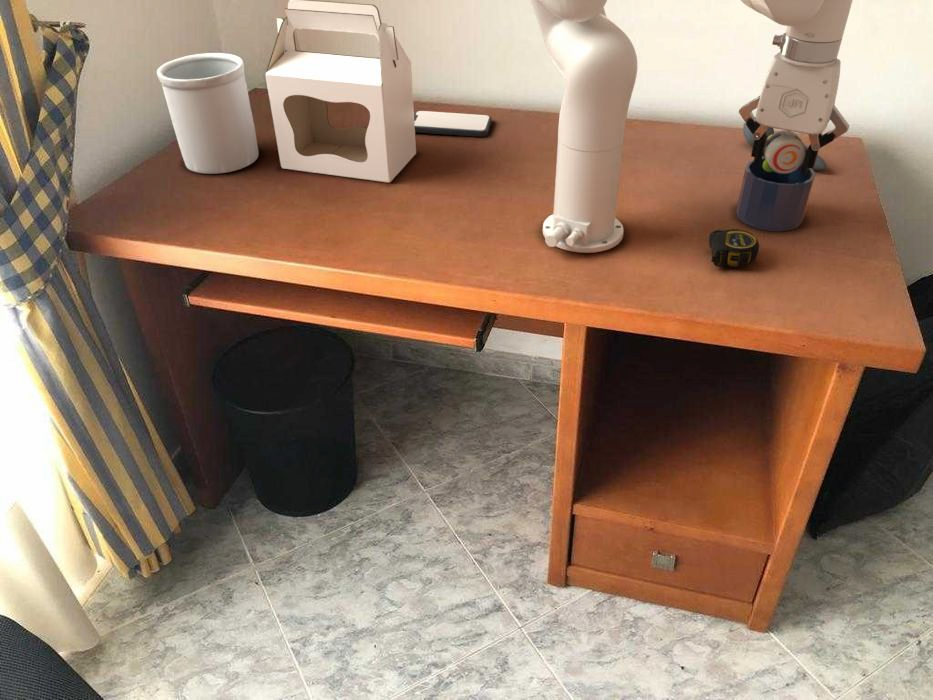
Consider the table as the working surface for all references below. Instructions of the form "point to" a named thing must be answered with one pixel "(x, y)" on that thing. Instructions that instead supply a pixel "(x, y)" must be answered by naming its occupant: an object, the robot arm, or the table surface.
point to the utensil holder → (210, 111)
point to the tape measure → (733, 247)
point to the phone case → (452, 123)
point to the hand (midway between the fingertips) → (781, 165)
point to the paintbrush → (770, 131)
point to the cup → (773, 198)
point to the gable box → (340, 95)
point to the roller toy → (783, 152)
